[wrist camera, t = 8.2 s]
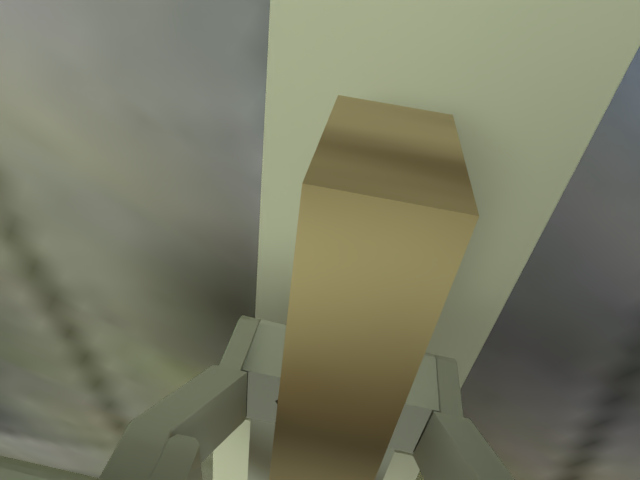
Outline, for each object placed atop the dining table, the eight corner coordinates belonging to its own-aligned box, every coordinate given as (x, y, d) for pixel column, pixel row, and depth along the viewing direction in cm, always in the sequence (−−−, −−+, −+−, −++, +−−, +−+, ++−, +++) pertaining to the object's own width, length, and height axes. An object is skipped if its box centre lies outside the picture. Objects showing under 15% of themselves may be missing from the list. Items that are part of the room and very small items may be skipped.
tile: (213, 412, 21) (212, 504, 25) (424, 458, 20) (388, 544, 24) (228, 377, 23) (225, 468, 27) (422, 418, 22) (388, 504, 26)
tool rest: (302, -388, 8) (290, -423, 7) (804, -331, 8) (851, -360, 7) (259, 332, 20) (253, 349, 19) (456, 372, 20) (459, 392, 19)
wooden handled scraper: (277, 84, 9) (209, 166, 6) (516, 125, 9) (578, 235, 6) (251, 479, 19) (220, 590, 16) (365, 504, 19) (357, 623, 16)
